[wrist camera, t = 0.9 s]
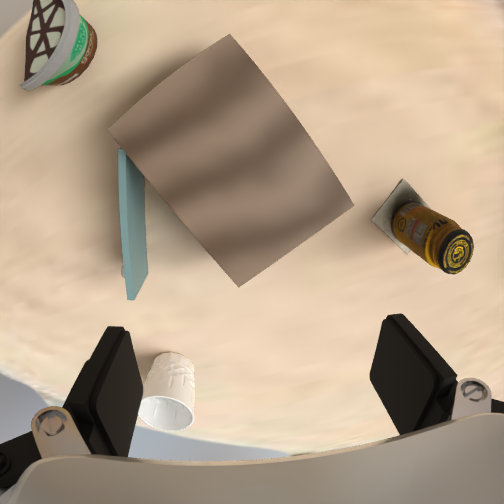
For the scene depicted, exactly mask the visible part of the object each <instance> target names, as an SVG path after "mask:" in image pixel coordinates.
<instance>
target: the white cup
mask: <svg viewBox="0 0 504 504" xmlns="http://www.w3.org/2000/svg"><path fill="white" fill-rule="evenodd" d="M194 402H195V381H194V366H193V364H192V363H191V361H190V360H189V359H188V358H186V357H184V356H183V355H181V354H177V353H173V352H169V353H162V354H160V355H159V356H157V357H155V359H154V361H153V363H152V366H151V369H150V371H149V373H148V375H147V378H146V380H145V383H144V386H143V397H142V401H141V404H140V408H139V412H138V415H139V417H140V418H141V419H142V420H143V421H144V422H145V423H146V424H148V425H149V426H151V427H153V428H156V429H159V430H163V431H172V432H173V431H181V430H184V429H187V428H188V427H190V426H191V425H192V423H193V421H194Z"/></svg>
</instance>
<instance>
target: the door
mask: <svg viewBox="0 0 504 504" xmlns="http://www.w3.org/2000/svg"><path fill="white" fill-rule="evenodd" d="M118 184H119V211H120V228H121V242H122V254H123V266H122V270H121V274H122V277H124V278H125V283H126V291H127V299H128V300H135V298H136V296H137V294H138V292H139V290H140V288H141V286H142V284H143V282H144V280H145V279H146V277H147V275H148V263H147V248H146V227H145V191H144V175H143V174H142V173H141V171H140V170H139V169H138V168H137V166H136V165H135V164H134V163H133V161H132V160H131V159H130V158H129V156H128V155H127V154H126V153H125V151H124V150H123V149H122V148H120V149H118Z"/></svg>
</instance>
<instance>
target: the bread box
mask: <svg viewBox="0 0 504 504" xmlns="http://www.w3.org/2000/svg"><path fill="white" fill-rule="evenodd" d="M107 130H108V131H109V133H110V134H111V135H112V136H113V138H114V139H115V140H116V141H117V143H118V144H119V145H120V146H121V148H122V149H123V150H124V151H125V153H126V154H127V155H128V156H129V158H130V159H131V160H132V161H133V163H134V164H135V165H136V166H137V168H138V169H139V170H140V171H141V173H142V174H143V175H144V176H145V177H146V179H147V180H148V181H149V182H150V184H151V185H152V186H153V187H154V189H155V190H156V191H157V192H158V193H159V195H160V196H161V197H162V198H163V199H164V201H165V202H166V203H167V204H168V205H169V207H170V208H171V209H172V210H173V211H174V213H175V214H176V215H177V216H178V217H179V219H180V220H181V221H182V222H183V223H184V225H185V226H186V227H187V228H188V229H189V231H190V232H191V233H192V234H193V235H194V236H195V238H196V239H197V240H198V241H199V242H200V243H201V245H202V246H203V247H204V248H205V249H206V251H207V252H208V253H209V254H210V255H211V256H212V257H213V259H214V260H215V261H216V262H217V263H218V264H219V266H220V267H221V268H222V269H223V270H224V271H225V273H226V274H227V275H228V276H229V277H230V278H231V279H232V281H233V282H234V283H235V284H236V285H237V286H238V287H240V286H242V285H243V284H244V283H246V282H247V281H249V280H250V279H252V278H253V277H255V276H256V275H257V274H259V273H260V272H262V271H263V270H265V269H266V268H267V267H269V266H270V265H272V264H273V263H275V262H276V261H277V260H279V259H280V258H282V257H283V256H284V255H286V254H287V253H289V252H290V251H292V250H293V249H294V248H296V247H297V246H299V245H300V244H301V243H303V242H304V241H306V240H307V239H308V238H310V237H311V236H313V235H314V234H315V233H317V232H318V231H320V230H321V229H322V228H324V227H325V226H327V225H328V224H329V223H331V222H332V221H334V220H335V219H336V218H338V217H339V216H341V215H342V214H343V213H345V212H346V211H347V210H349V209H350V208H352V207H353V206H354V204H353V202H352V201H351V199H350V197H349V196H348V194H347V193H346V191H345V189H344V188H343V186H342V184H341V183H340V181H339V180H338V178H337V177H336V175H335V173H334V172H333V170H332V169H331V167H330V166H329V164H328V163H327V161H326V160H325V158H324V157H323V155H322V154H321V152H320V151H319V149H318V148H317V146H316V145H315V143H314V142H313V140H312V139H311V137H310V136H309V135H308V133H307V132H306V130H305V129H304V127H303V126H302V125H301V123H300V122H299V120H298V119H297V118H296V116H295V115H294V113H293V112H292V111H291V109H290V108H289V107H288V105H287V104H286V103H285V101H284V100H283V99H282V97H281V96H280V95H279V93H278V92H277V91H276V89H275V88H274V87H273V86H272V84H271V83H270V82H269V80H268V79H267V78H266V77H265V75H264V74H263V73H262V72H261V70H260V69H259V68H258V67H257V65H256V64H255V63H254V62H253V61H252V59H251V58H250V57H249V56H248V54H247V53H246V52H245V51H244V50H243V49H242V47H241V46H240V45H239V44H238V43H237V42H236V40H235V39H234V38H233V37H232V36H231V35H230V34H228V35H227V36H225V37H224V38H222V39H221V40H219V41H217V42H216V43H214V44H213V45H211V46H210V47H208V48H207V49H205V50H204V51H203V52H201V53H200V54H198V55H197V56H195V57H194V58H193V59H191V60H190V61H188V62H187V63H186V64H184V65H183V66H182V67H180V68H179V69H178V70H176V71H175V72H174V73H172V74H171V75H170V76H169V77H167V78H166V79H165V80H163V81H162V82H161V83H160V84H158V85H157V86H156V87H155V88H153V89H152V90H151V91H150V92H149V93H147V94H146V95H145V96H144V97H143V98H142V99H140V100H139V101H138V102H137V103H136V104H135V105H133V106H132V107H131V108H130V109H129V110H128V111H127V112H126V113H124V114H123V115H122V116H121V117H120V118H119V119H118V120H117V121H116V122H115V123H114V124H113V125H112V126H111V127H109V128H108V129H107Z"/></svg>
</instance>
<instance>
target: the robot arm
mask: <svg viewBox="0 0 504 504" xmlns="http://www.w3.org/2000/svg"><path fill="white" fill-rule="evenodd" d="M456 377H457V374H456V373H455V372H454V371H453V369H452V368H451V367H450V366H449V365H448V364H447V362H446V361H445V360H444V359H443V358H442V357H441V356H440V354H439V353H438V352H437V351H436V350H435V349H434V348H433V346H432V345H431V344H430V343H429V342H428V341H427V340H426V339H425V338H424V336H423V335H422V334H421V333H420V332H419V331H418V330H417V329H416V328H415V327H414V325H413V324H412V323H411V322H410V321H409V320H408V319H407V318H406V317H405V316H404V315H403V314H393V315H388V316H387V317H386V319H384V320H383V322H382V326H381V330H380V335H379V339H378V343H377V347H376V351H375V355H374V359H373V363H372V367H371V370H370V381H371V383H372V385H373V386H374V388H375V390H376V392H377V394H378V395H379V397H380V399H381V401H382V403H383V405H384V406H385V408H386V410H387V412H388V414H389V416H390V417H391V419H392V421H393V423H394V425H395V427H396V429H397V430H398V432H399V434H400V435H399V436H396V437H392V438H388V439H384V440H380V441H376V442H372V443H367V444H363V445H358V446H353V447H348V448H343V449H338V450H332V451H326V452H320V453H314V454H307V455H299V456H291V457H282V458H271V459H259V460H241V461H173V460H155V459H141V458H129V457H128V453H129V449H130V444H131V440H132V436H133V432H134V427H135V424H136V420H137V416H138V412H139V408H140V404H141V401H142V397H143V384H142V381H141V377H140V373H139V369H138V366H137V362H136V358H135V354H134V349H133V345H132V341H131V337H130V333H129V331H125V329H124V327H115V326H108V327H107V328H106V330H105V332H104V334H103V336H102V337H101V339H100V341H99V343H98V345H97V346H96V348H95V350H94V352H93V354H92V356H91V358H90V359H89V360H87V361H86V363H85V364H84V366H83V368H82V370H81V372H80V374H79V375H78V377H77V379H76V381H75V383H74V385H73V387H72V389H71V391H70V393H69V395H68V397H67V399H66V401H65V403H64V405H63V407H62V408H61V407H58V406H51V407H47V408H44V409H42V410H40V411H39V412H37V413H36V414H35V416H34V417H33V419H32V422H31V429H32V431H30V432H28V433H26V434H23V435H21V436H19V437H16V438H14V439H12V440H9V441H7V442H4V443H2V444H0V504H504V402H502V401H498V400H495V399H491V390H490V388H489V387H488V386H487V385H486V384H485V383H484V382H482V381H481V380H478V379H475V378H465V379H463V380H461V381H460V382H459V383H458V381H457V380H456Z"/></svg>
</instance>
